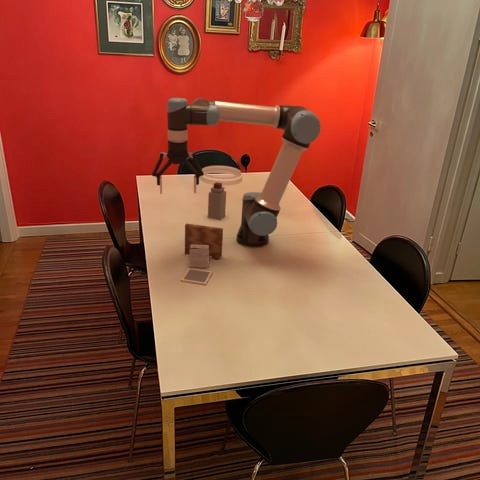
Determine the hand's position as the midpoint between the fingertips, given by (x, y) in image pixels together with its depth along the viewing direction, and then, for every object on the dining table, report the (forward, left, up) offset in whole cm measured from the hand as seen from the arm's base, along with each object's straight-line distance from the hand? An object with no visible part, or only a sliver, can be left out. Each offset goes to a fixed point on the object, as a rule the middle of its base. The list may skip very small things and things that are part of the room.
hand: (178, 192), depth 189 cm
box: (-11, +6, -28) cm, 31 cm away
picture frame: (-13, +16, -28) cm, 35 cm away
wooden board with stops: (-10, -4, -28) cm, 30 cm away
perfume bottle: (-5, -48, -28) cm, 56 cm away
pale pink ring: (+8, -112, -29) cm, 115 cm away
